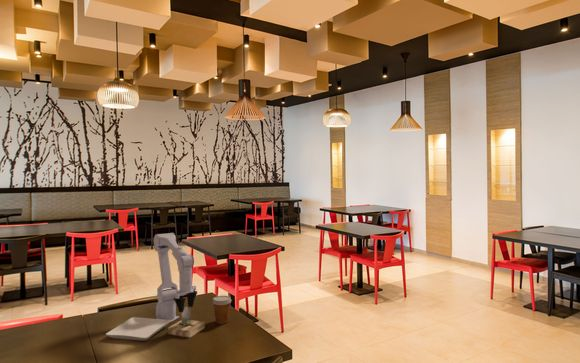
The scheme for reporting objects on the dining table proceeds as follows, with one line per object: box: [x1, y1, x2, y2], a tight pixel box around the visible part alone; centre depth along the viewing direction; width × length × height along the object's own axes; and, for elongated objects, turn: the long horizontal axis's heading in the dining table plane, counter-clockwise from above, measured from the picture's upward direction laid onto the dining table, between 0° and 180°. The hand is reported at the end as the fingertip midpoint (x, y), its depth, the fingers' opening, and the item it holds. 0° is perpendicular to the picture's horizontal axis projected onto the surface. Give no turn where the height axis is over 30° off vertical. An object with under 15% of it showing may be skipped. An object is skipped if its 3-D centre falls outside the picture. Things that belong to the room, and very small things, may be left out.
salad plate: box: [105, 316, 171, 342], centre depth 184 cm, size 21×21×3 cm
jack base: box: [167, 319, 205, 339], centre depth 186 cm, size 12×12×4 cm
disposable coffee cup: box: [212, 295, 232, 325], centre depth 197 cm, size 10×10×12 cm
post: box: [181, 306, 192, 324], centre depth 186 cm, size 3×3×7 cm
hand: (185, 309), depth 186 cm, fingers open, 7 cm apart
